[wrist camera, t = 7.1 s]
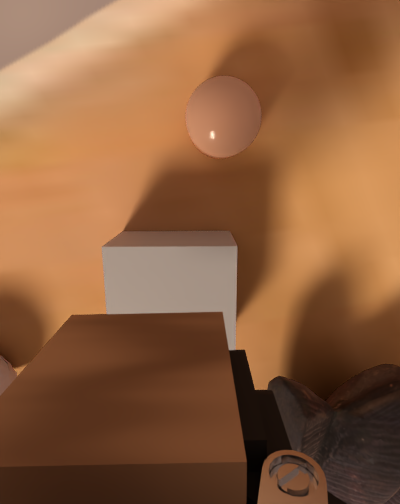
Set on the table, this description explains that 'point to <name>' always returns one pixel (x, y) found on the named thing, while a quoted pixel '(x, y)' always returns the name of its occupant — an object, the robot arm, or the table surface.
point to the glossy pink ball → (223, 116)
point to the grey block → (172, 274)
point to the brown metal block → (125, 415)
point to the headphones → (6, 374)
